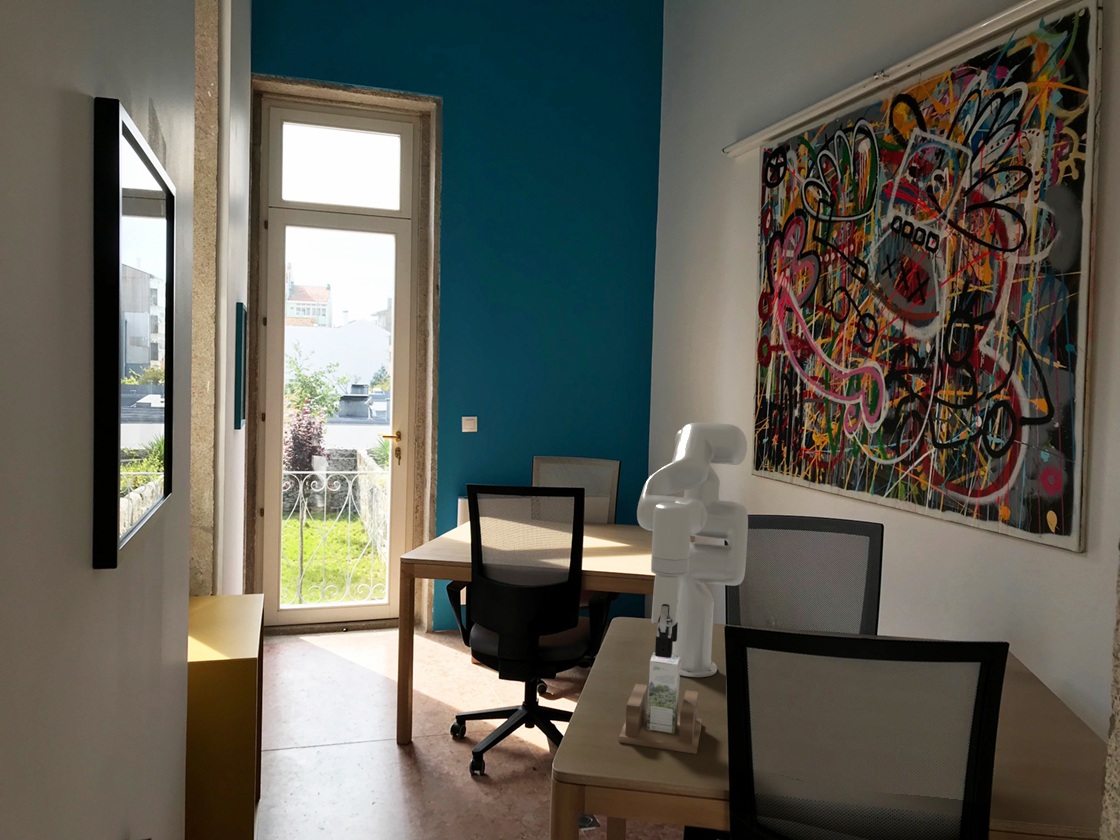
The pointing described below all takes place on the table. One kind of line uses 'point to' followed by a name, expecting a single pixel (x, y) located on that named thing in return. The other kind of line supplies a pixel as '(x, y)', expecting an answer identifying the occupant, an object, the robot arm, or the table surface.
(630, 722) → the slot block
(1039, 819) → the table surface
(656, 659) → the syrup box
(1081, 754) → the table surface
